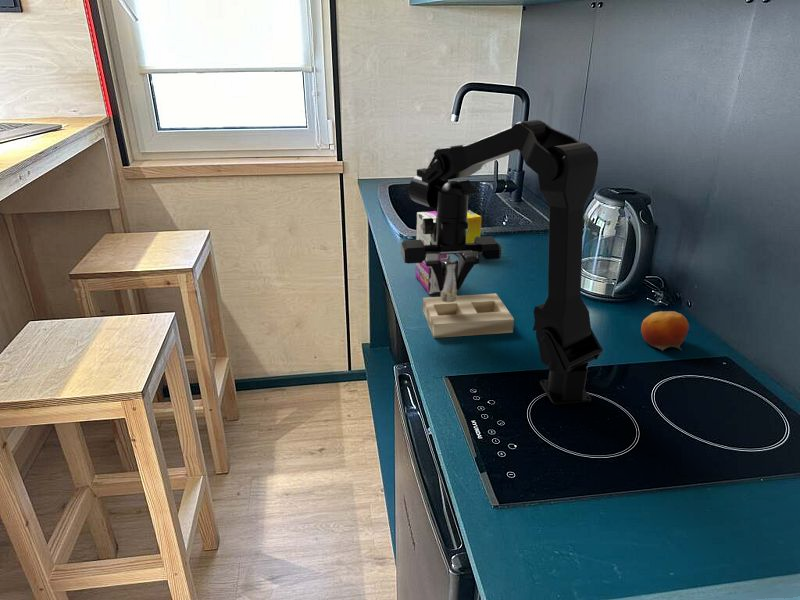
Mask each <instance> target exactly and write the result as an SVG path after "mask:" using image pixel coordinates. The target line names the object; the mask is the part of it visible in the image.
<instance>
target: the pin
mask: <svg viewBox="0 0 800 600" xmlns="http://www.w3.org/2000/svg"><path fill="white" fill-rule="evenodd" d="M458 263H459V260H458V259H455V258H450V259H444V260H442V291H441V293H440V297H441V300H442V301H444V302H454V301H456V299H457V296H458V295H457V294H458V290H457V278H458Z"/></svg>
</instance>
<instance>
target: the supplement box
mask: <svg viewBox="0 0 800 600" xmlns="http://www.w3.org/2000/svg"><path fill="white" fill-rule="evenodd" d="M482 218H483V216H482V215H478V214H477V213H475V212H473V211H472V210H471V209H469V210H468V212H467V223H468V229H467V230H466V243H474V239H475V237H481V232H482V231H481V230H482ZM454 255H455V256H456V257H458V258H459V256H458V254H454ZM479 255H480V253H478V256H479Z"/></svg>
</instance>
